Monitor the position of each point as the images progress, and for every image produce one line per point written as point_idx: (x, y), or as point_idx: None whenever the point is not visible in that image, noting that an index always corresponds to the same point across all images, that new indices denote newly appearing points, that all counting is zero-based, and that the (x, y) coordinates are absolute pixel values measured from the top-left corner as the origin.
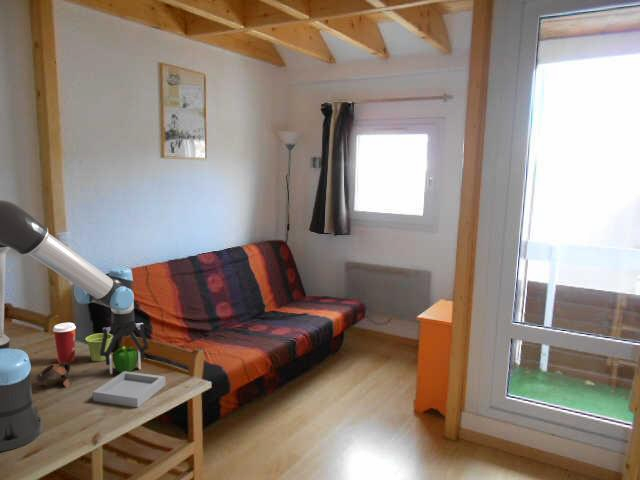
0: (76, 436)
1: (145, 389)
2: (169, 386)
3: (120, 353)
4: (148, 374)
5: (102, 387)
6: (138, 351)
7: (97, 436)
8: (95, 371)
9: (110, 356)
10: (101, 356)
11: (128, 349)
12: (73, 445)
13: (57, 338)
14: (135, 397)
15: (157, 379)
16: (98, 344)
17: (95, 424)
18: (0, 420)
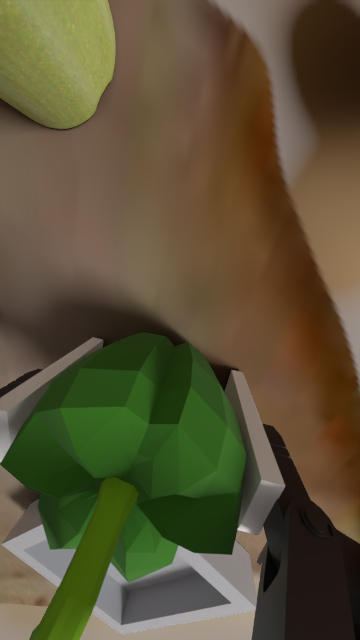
0: (7, 584)
1: (156, 620)
2: (254, 565)
3: (60, 548)
4: (209, 565)
5: (30, 540)
6: (254, 513)
7: (43, 603)
8: (31, 287)
9: (3, 457)
10: (29, 103)
11: (161, 496)
12: (6, 598)
13: None
14: (117, 630)
15: (220, 606)
16: None
17: (39, 578)
18: None
